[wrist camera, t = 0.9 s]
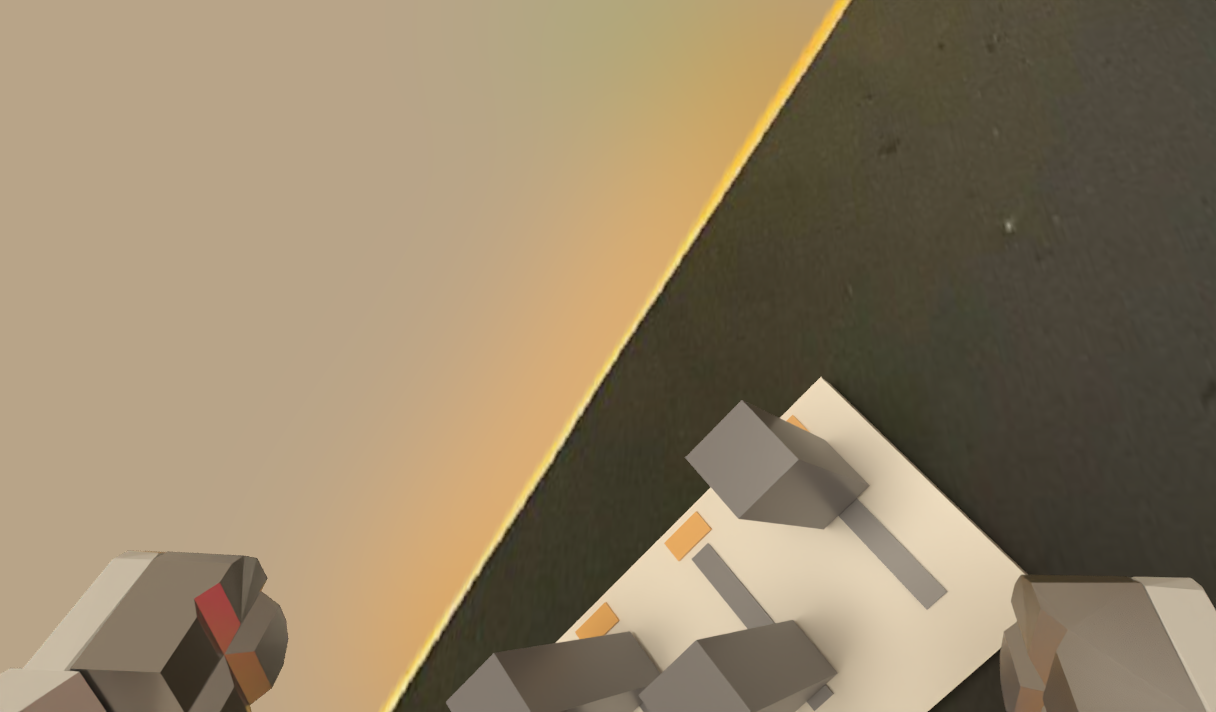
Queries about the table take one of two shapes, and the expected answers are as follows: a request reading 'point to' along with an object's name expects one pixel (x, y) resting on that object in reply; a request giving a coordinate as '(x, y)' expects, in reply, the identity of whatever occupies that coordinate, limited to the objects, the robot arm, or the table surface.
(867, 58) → the table surface
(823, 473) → the tall grey switch
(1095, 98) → the table surface
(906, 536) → the switch bank
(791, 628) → the grey rectangular pillar
